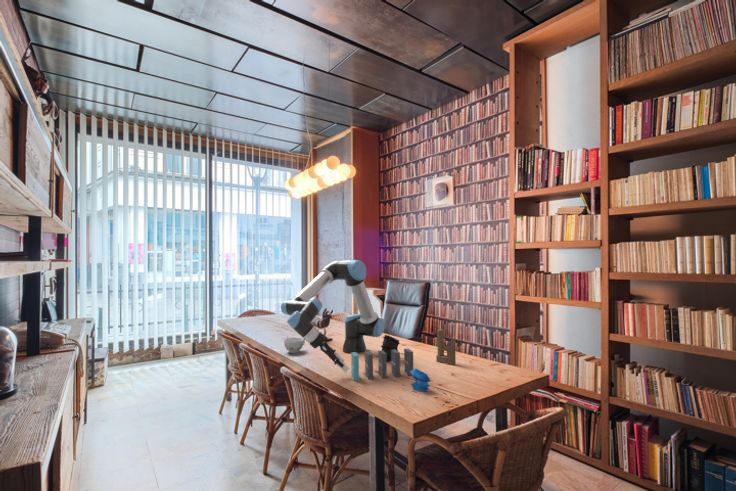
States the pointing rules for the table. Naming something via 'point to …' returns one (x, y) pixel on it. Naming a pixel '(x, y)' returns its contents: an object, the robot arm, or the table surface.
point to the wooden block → (445, 349)
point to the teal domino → (355, 366)
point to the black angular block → (389, 346)
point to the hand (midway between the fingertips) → (345, 366)
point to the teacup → (294, 344)
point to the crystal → (420, 380)
